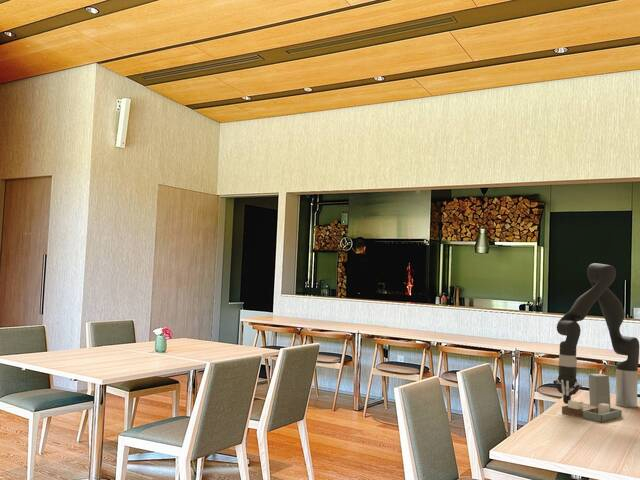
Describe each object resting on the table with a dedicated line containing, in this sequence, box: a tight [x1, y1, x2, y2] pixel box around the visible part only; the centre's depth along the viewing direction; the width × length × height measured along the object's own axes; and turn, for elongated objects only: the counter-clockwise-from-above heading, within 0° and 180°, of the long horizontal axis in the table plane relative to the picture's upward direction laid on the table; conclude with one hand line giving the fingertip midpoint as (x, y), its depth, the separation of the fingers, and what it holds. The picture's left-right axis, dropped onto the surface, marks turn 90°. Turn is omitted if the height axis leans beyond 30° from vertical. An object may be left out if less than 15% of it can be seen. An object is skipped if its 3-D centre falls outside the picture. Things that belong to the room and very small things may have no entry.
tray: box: [582, 407, 623, 423], centre depth 261 cm, size 18×8×3 cm, turn 129°
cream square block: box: [567, 399, 584, 409], centre depth 266 cm, size 4×4×3 cm
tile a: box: [598, 403, 611, 414], centre depth 265 cm, size 4×4×3 cm
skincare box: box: [588, 373, 612, 408], centre depth 281 cm, size 8×7×16 cm
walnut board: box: [561, 402, 598, 419], centre depth 269 cm, size 16×10×3 cm, turn 129°
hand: (566, 403), depth 269 cm, fingers closed
